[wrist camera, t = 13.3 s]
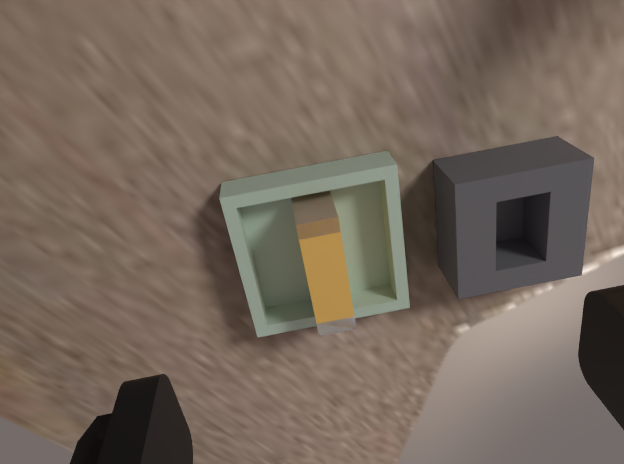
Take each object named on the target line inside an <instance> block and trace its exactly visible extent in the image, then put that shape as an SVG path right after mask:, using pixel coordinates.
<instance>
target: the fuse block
mask: <svg viewBox="0 0 624 464" xmlns="http://www.w3.org/2000/svg"><path fill="white" fill-rule="evenodd" d="M593 164H594V158H593V157H591V156H590V155H588V154H586V153H585V152H583V151H581V150H580V149H578V148H576V147H575V146H573V145H571V144H570V143H568V142H566V141H565V140H563V139H561V138H559V137H558V136H556V137H551V138H546V139H540V140H535V141H530V142H525V143H520V144H514V145H509V146H504V147H499V148H494V149H488V150H483V151H478V152H473V153H468V154H462V155H457V156H452V157H447V158H441V159H436V160H433V169H434V188H435V207H436V226H437V245H438V264H439V268H440V269H441V271H442V273H443V274H444V276H445V278H446V279H447V281H448V283H449V284H450V286H451V288H452V289H453V291H454V293H455V294H456V296H457V298H458V299H463V298H468V297H473V296H478V295H483V294H488V293H493V292H498V291H503V290H509V289H514V288H519V287H524V286H529V285H534V284H539V283H544V282H549V281H555V280H560V279H565V278H570V277H575V276H580V275H582V267H583V257H584V248H585V239H586V229H587V220H588V211H589V201H590V192H591V182H592V173H593Z"/></svg>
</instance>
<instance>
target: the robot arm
mask: <svg viewBox="0 0 624 464" xmlns="http://www.w3.org/2000/svg"><path fill="white" fill-rule="evenodd" d="M578 356H579V363H580V367H581V370H582V373H583V376H584V378H585V380H586V381H587V383H588V385H589V386H590V387H591V389H592V390H593V391H594V393H595V394H596V395H597V396H598V398H599V399H600V400H601V401H602V403H603V404H604V405H605V407H606V408H607V409H608V410H609V412H610V413H611V414H612V416H613V417H614V418H615V419H616V421H617V422H618V423H619V424H620V426H621V427H622V428H623V430H624V285H622V286H616V287H611V288H606V289H601V290H597V291H591V292H589V293H588V294H587V295H586V297H585V301H584V308H583V317H582V325H581V334H580V342H579V352H578ZM70 464H193V447H192V439H191V434H190V430H189V427H188V425H187V422H186V420H185V417H184V415H183V412H182V410H181V407H180V405H179V402H178V400H177V397H176V395H175V392H174V390H173V387H172V385H171V382H170V380H169V378H168V377H167V376H166V375H165V374H161V375H156V376H151V377H146V378H141V379H135V380H130V381H125V382H123V383H122V385H121V387H120V389H119V392H118V396H117V399H116V402H115V405H114V409H113V412H112V413H111V414H106V415H101V416H97V417H96V419H95V420H94V421H93V423H92V424H91V425H90V426H89V428H88V429H87V430H86V432H85V433H84V434H83V436H82V437H81V438H80V440H79V441H78V442H77V445H76V448H75V451H74V454H73V456H72V459H71V462H70Z"/></svg>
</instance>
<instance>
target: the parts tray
mask: <svg viewBox="0 0 624 464" xmlns="http://www.w3.org/2000/svg"><path fill="white" fill-rule="evenodd" d="M328 190H330V193H331V196H332V199H333V202H334V205H335V208H336V211H337V214H338V218H339V224H340V230H341V236H342V242H343V248H344V255H345V261H346V267H347V273H348V279H349V285H350V292H351V298H352V304H353V310H354V316H355V318H360V317H365V316H370V315H375V314H380V313H385V312H391V311H396V310H401V309H406V308H410V303H409V292H408V281H407V269H406V258H405V247H404V236H403V224H402V213H401V202H400V190H399V179H398V168H397V163H396V162H395V160H394V159H393V158H392V156H391V155H390V153H389V152H388V151H383V152H377V153H372V154H367V155H362V156H357V157H351V158H346V159H341V160H336V161H330V162H325V163H320V164H315V165H310V166H304V167H299V168H294V169H289V170H283V171H278V172H273V173H268V174H263V175H257V176H252V177H247V178H242V179H236V180H231V181H226V182H221V190H220V197H219V199H220V203H221V206H222V210H223V214H224V217H225V221H226V224H227V228H228V232H229V235H230V239H231V243H232V246H233V250H234V254H235V257H236V261H237V265H238V268H239V272H240V275H241V279H242V283H243V286H244V290H245V294H246V297H247V301H248V305H249V308H250V312H251V315H252V319H253V323H254V326H255V330H256V334H257V337H263V336H268V335H273V334H278V333H283V332H288V331H293V330H299V329H304V328H309V327H314V326H317V324H316V319H315V315H314V310H313V305H312V300H311V295H310V291H309V286H308V281H307V276H306V272H305V267H304V262H303V257H302V252H301V248H300V243H299V238H298V233H297V229H296V223H295V217H294V211H293V205H292V199H291V198H292V197H297V196H302V195H307V194H313V193H318V192H323V191H328Z"/></svg>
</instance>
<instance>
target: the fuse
mask: <svg viewBox="0 0 624 464" xmlns="http://www.w3.org/2000/svg"><path fill="white" fill-rule="evenodd" d="M291 199H292V205H293V211H294V217H295V223H296V229H297V233H298V238H299V243H300V248H301V252H302V257H303V262H304V267H305V272H306V276H307V281H308V286H309V291H310V295H311V300H312V305H313V310H314V315H315V319H316V324H317V329H318V334H319V336H322V335H327V334H332V333H337V332H342V331H347V330H352V329H357V328H356V322H355V316H354V310H353V304H352V298H351V292H350V285H349V279H348V273H347V267H346V261H345V255H344V248H343V242H342V236H341V230H340V224H339V218H338V214H337V211H336V208H335V205H334V202H333V199H332V196H331V193H330V190H328V191H323V192H318V193H313V194H307V195H302V196H297V197H292V198H291Z"/></svg>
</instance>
